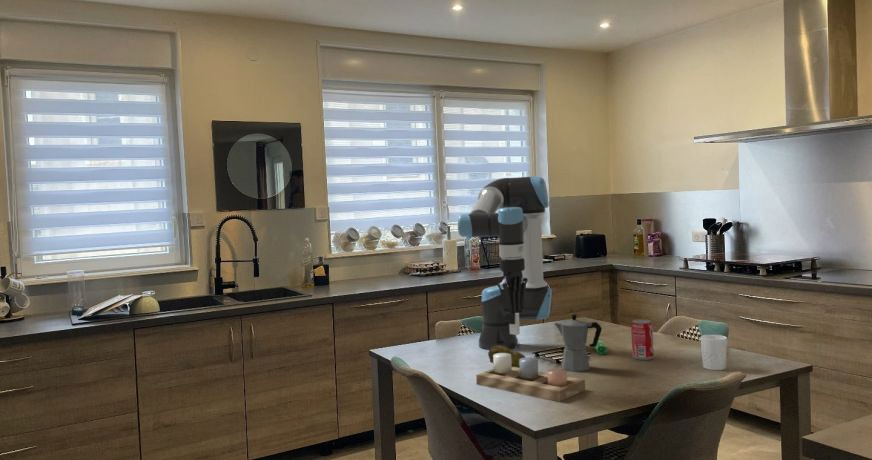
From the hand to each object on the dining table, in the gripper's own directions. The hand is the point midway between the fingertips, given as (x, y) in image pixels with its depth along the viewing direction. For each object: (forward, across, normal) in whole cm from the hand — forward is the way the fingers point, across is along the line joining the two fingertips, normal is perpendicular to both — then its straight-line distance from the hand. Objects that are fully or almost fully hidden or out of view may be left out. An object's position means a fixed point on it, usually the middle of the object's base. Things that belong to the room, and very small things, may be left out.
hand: (514, 333), depth 205 cm
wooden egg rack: (+16, -1, -5) cm, 16 cm away
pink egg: (+14, -1, -15) cm, 21 cm away
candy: (+17, +51, -2) cm, 54 cm away
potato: (+16, +13, +12) cm, 24 cm away
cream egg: (+12, -1, +5) cm, 13 cm away
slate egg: (+12, -1, -5) cm, 13 cm away
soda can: (+16, +50, -19) cm, 56 cm away
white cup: (+16, +50, -43) cm, 68 cm away
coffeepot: (+16, +26, -7) cm, 31 cm away
